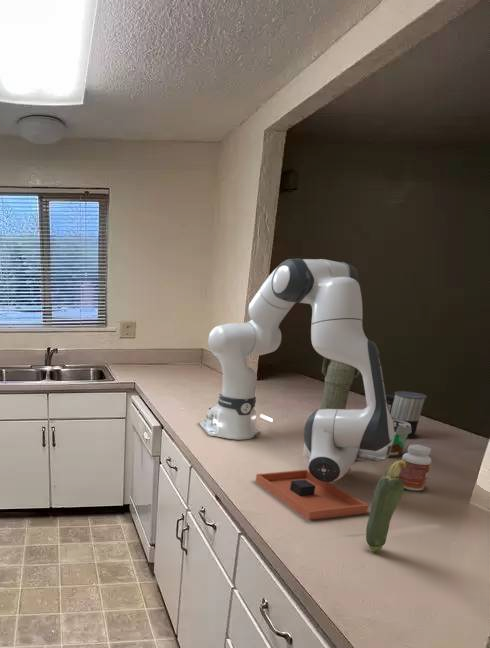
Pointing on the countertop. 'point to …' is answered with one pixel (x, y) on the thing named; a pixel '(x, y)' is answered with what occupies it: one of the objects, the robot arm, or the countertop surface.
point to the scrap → (302, 487)
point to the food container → (398, 437)
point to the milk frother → (407, 408)
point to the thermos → (337, 384)
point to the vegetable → (384, 506)
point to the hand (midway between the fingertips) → (349, 439)
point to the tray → (315, 506)
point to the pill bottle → (415, 467)
